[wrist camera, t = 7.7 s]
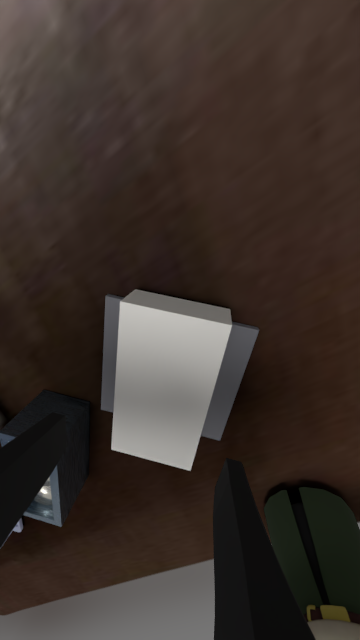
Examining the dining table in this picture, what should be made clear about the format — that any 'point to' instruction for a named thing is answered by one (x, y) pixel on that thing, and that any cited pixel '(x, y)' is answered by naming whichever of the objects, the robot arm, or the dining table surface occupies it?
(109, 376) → the mat
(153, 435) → the lid
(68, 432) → the tin
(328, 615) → the character mug
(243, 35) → the dining table surface
